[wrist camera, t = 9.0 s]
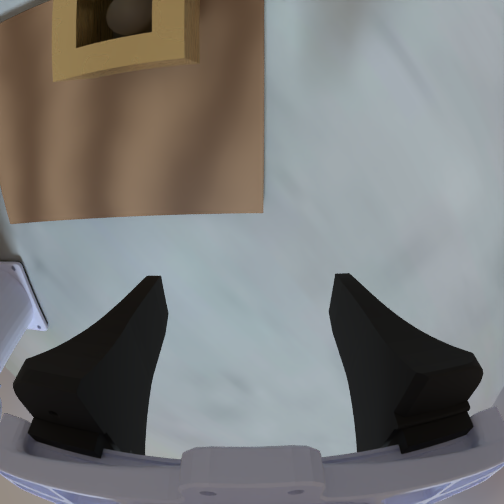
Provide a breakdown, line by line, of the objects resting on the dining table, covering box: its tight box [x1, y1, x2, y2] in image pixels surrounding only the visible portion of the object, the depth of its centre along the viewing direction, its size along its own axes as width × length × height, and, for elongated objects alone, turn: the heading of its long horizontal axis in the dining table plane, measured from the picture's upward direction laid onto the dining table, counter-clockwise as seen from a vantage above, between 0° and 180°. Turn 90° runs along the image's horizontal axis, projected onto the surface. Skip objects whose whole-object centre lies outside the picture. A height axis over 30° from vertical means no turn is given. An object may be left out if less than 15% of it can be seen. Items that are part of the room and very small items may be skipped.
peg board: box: [0, 0, 264, 224], centre depth 15 cm, size 20×16×6 cm
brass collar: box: [52, 0, 200, 82], centre depth 10 cm, size 6×6×4 cm
